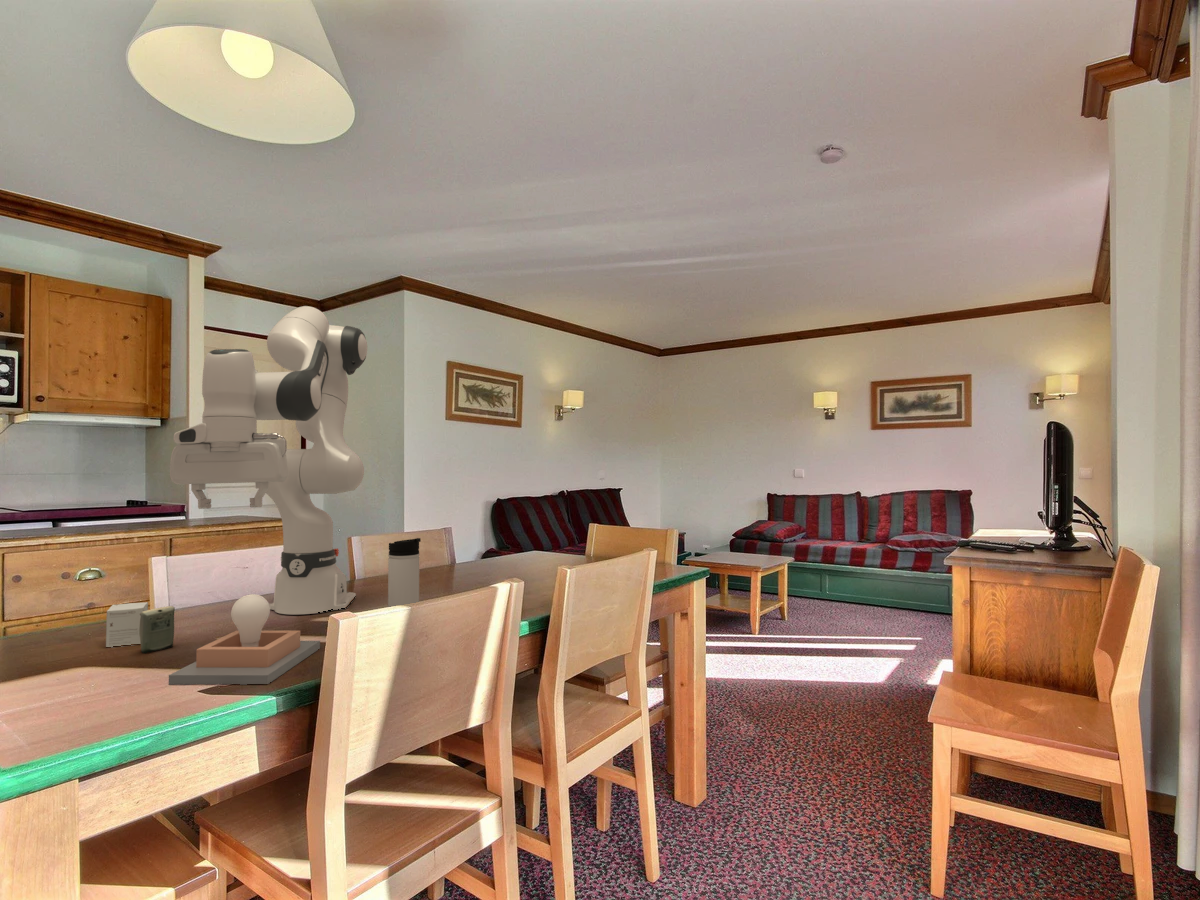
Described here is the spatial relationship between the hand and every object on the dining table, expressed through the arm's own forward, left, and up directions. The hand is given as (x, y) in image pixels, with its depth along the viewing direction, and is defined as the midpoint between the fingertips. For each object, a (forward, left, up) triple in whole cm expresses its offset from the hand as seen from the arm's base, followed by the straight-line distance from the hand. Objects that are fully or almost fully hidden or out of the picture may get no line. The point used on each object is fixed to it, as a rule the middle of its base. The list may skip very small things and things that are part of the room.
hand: (230, 508), depth 121 cm
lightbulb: (+5, +7, -26) cm, 27 cm away
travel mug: (-16, +28, -28) cm, 42 cm away
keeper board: (+5, +7, -28) cm, 29 cm away
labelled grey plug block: (-4, -16, -28) cm, 32 cm away
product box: (-9, -25, -28) cm, 39 cm away
